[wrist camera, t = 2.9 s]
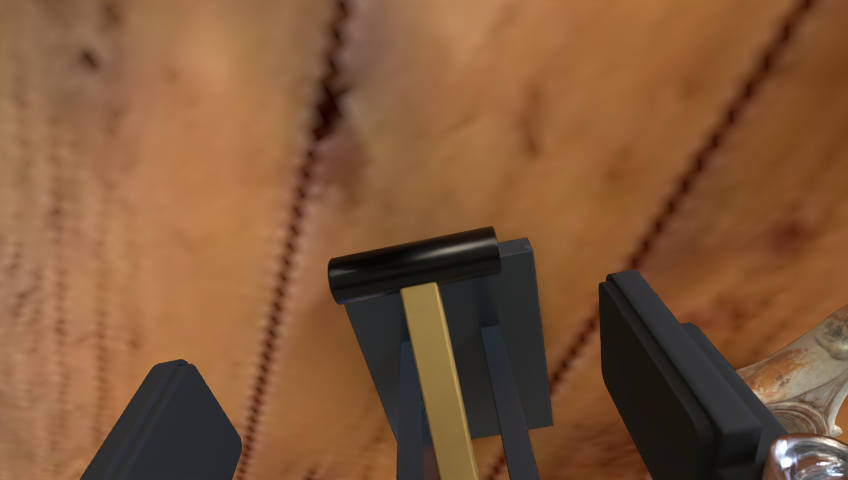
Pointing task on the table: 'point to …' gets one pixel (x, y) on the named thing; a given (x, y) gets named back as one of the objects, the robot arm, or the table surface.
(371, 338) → the switch base
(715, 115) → the table surface
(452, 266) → the switch lever
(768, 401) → the oil lamp
